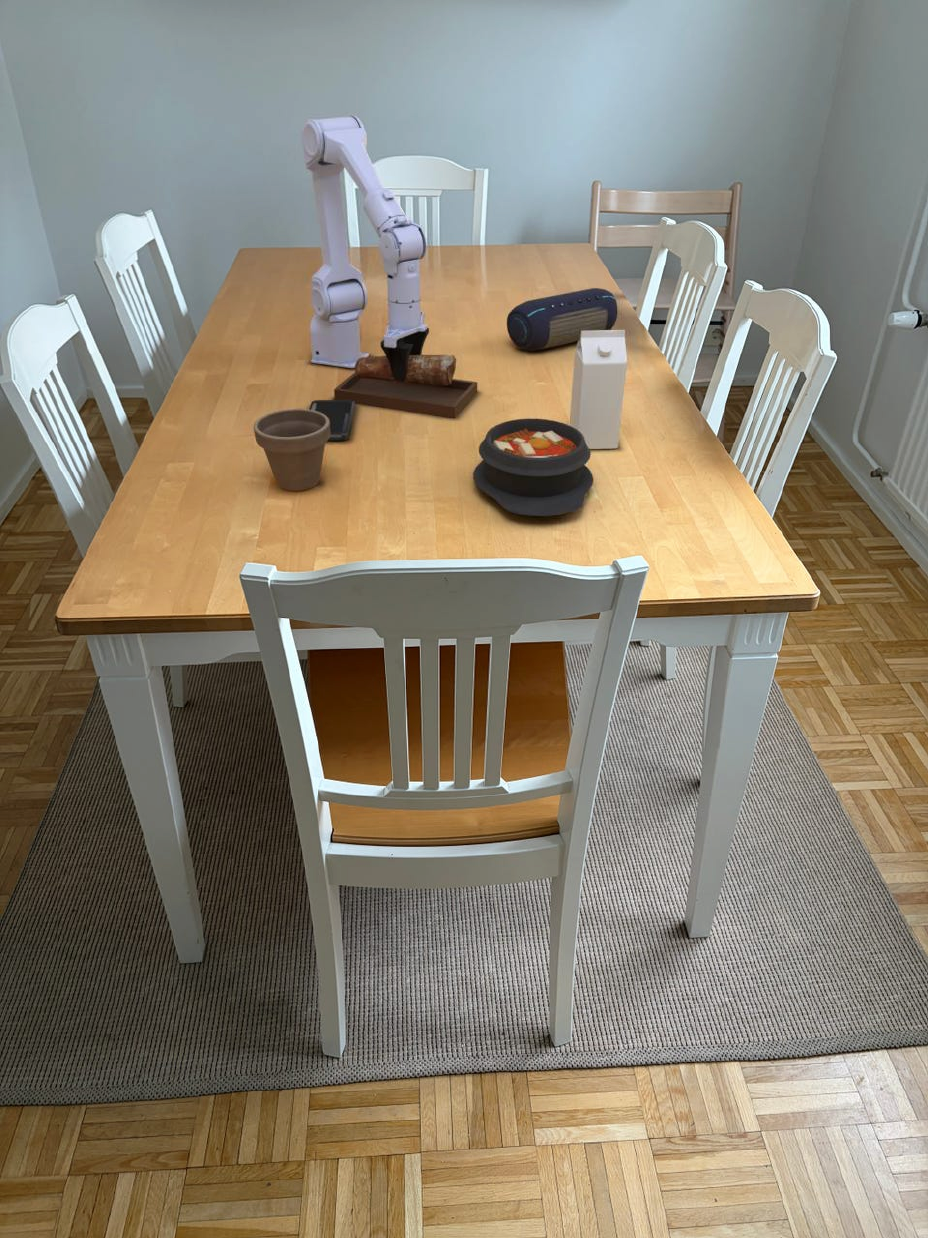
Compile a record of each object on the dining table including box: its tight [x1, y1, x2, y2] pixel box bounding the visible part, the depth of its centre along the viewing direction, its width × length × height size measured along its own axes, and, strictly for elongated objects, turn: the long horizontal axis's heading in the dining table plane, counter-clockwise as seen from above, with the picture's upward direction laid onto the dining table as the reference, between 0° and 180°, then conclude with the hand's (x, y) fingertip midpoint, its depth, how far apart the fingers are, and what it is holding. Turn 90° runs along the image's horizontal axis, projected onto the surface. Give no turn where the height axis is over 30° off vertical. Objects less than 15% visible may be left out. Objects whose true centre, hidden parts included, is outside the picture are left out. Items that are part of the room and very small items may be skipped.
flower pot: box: [253, 408, 330, 492], centre depth 146 cm, size 12×11×10 cm
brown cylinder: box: [354, 354, 457, 386], centre depth 174 cm, size 6×19×6 cm, turn 78°
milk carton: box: [568, 329, 628, 450], centre depth 157 cm, size 7×7×19 cm
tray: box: [333, 372, 478, 419], centre depth 177 cm, size 24×13×2 cm, turn 71°
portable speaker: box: [506, 287, 619, 352], centre depth 199 cm, size 25×10×10 cm, turn 123°
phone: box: [308, 399, 356, 442], centre depth 167 cm, size 8×1×15 cm
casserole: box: [472, 418, 594, 517], centre depth 146 cm, size 25×19×8 cm
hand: (406, 373), depth 175 cm, fingers closed on brown cylinder, 6 cm apart
